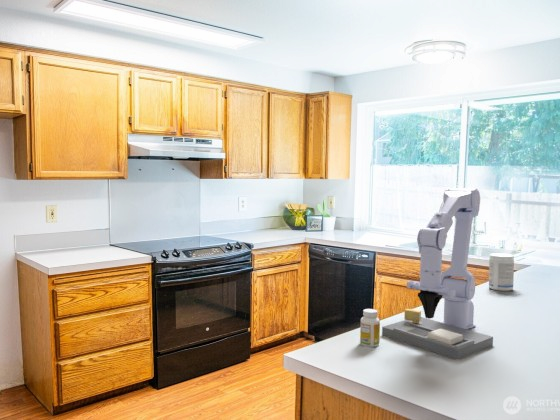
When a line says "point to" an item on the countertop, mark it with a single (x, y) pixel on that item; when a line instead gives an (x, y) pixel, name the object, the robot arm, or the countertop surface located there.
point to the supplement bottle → (370, 328)
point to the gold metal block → (413, 315)
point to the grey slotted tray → (419, 338)
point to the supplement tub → (501, 271)
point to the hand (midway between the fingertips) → (429, 317)
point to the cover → (445, 336)
